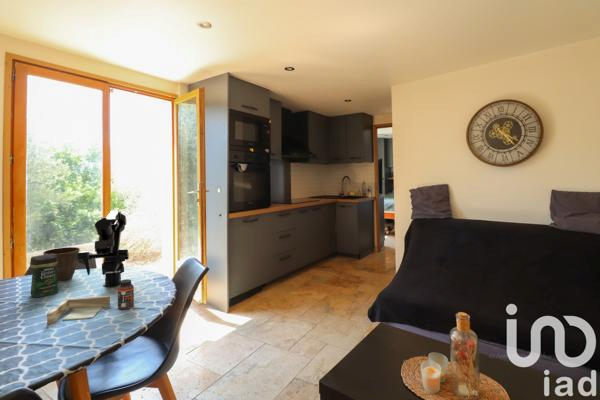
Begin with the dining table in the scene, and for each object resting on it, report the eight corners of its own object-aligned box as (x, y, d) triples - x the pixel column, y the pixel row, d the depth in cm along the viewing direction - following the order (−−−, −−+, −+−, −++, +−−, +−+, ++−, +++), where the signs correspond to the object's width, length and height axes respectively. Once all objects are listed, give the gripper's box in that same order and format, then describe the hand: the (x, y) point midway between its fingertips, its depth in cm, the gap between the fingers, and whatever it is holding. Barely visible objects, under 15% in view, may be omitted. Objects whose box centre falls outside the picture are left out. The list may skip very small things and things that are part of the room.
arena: (66, 308, 120) (66, 299, 120) (110, 304, 125) (109, 295, 124) (47, 324, 107) (46, 313, 107) (96, 319, 111) (96, 309, 111)
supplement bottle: (126, 310, 119) (125, 283, 119) (114, 308, 121) (113, 282, 120) (137, 304, 125) (136, 278, 125) (125, 303, 126) (125, 277, 126)
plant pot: (85, 278, 156) (84, 249, 155) (50, 287, 143) (49, 255, 142) (73, 273, 164) (73, 246, 163) (39, 281, 151) (38, 251, 150)
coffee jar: (34, 299, 129) (32, 258, 127) (28, 295, 133) (26, 255, 132) (61, 292, 137) (59, 254, 135) (55, 289, 141) (53, 251, 140)
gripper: (76, 233, 122) (69, 267, 114) (127, 231, 130) (124, 262, 121) (82, 246, 130) (76, 279, 121) (130, 243, 138) (127, 274, 129)
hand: (101, 273), depth 123 cm, fingers open, 9 cm apart
